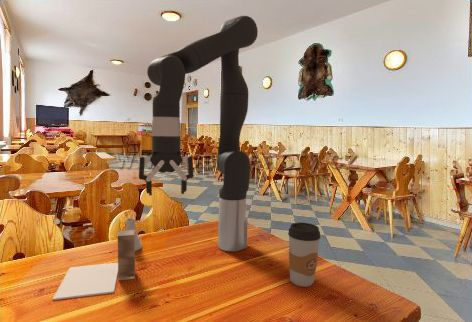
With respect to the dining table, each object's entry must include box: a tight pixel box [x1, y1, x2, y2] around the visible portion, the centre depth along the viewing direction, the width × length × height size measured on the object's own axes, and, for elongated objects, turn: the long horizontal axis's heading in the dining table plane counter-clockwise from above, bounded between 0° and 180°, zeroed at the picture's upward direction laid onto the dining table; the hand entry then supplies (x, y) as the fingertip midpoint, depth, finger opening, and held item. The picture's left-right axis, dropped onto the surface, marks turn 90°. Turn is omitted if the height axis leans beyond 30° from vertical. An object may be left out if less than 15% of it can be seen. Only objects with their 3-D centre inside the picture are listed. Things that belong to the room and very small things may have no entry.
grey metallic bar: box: [117, 230, 136, 281], centre depth 79 cm, size 4×4×12 cm
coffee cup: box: [287, 222, 321, 288], centre depth 79 cm, size 8×8×15 cm
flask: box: [124, 217, 143, 252], centre depth 98 cm, size 7×7×10 cm
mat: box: [52, 262, 118, 301], centre depth 77 cm, size 13×16×1 cm
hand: (166, 194), depth 81 cm, fingers open, 8 cm apart
